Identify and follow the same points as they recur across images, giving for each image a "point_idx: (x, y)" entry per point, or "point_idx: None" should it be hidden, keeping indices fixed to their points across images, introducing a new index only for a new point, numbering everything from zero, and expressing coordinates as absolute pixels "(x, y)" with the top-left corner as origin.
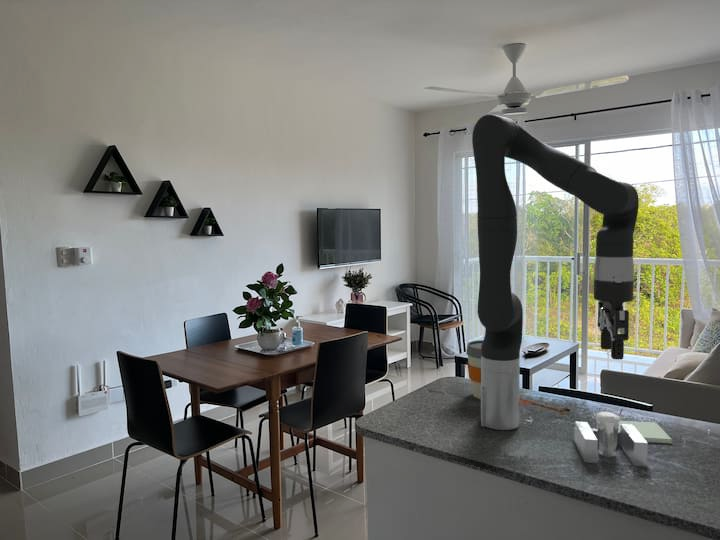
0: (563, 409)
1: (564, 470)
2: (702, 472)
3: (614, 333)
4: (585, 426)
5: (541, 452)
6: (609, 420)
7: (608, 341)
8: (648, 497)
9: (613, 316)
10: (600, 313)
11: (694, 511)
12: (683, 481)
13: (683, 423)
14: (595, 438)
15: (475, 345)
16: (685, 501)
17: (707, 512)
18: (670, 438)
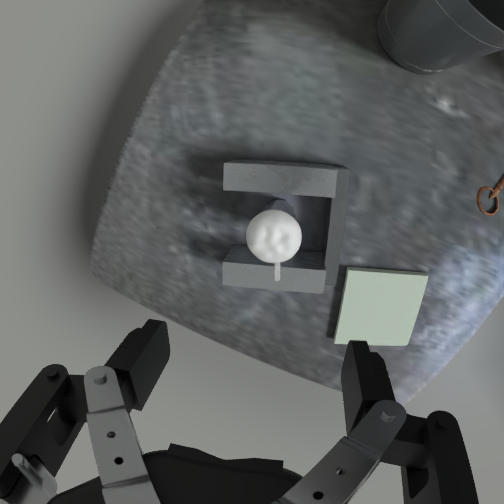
0: (497, 202)
1: (194, 115)
2: (225, 334)
3: (46, 387)
4: (303, 185)
5: (271, 84)
6: (247, 233)
7: (347, 389)
8: (129, 227)
9: (69, 489)
10: (436, 497)
11: (111, 270)
12: (189, 296)
13: (410, 380)
14: (230, 187)
15: None
16: (131, 271)
17: (113, 284)
18: (337, 343)
